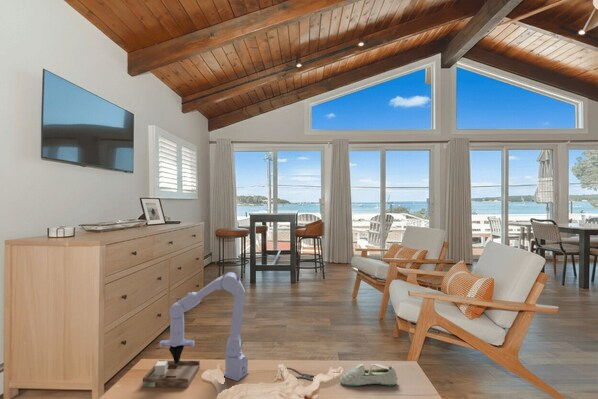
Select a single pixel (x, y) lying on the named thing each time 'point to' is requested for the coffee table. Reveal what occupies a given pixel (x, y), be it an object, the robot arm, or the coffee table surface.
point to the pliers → (303, 375)
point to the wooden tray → (173, 375)
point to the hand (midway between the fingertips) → (177, 362)
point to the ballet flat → (369, 376)
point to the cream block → (161, 367)
